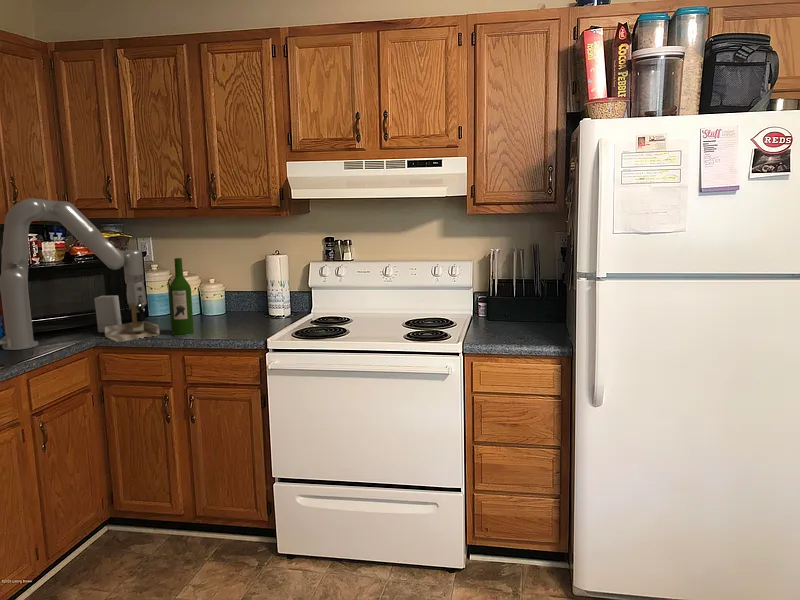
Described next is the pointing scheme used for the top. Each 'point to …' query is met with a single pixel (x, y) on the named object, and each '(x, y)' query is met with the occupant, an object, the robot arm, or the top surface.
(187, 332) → the wine bottle
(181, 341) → the top surface
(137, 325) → the skincare box
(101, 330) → the skincare box
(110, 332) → the tray
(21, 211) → the robot arm
